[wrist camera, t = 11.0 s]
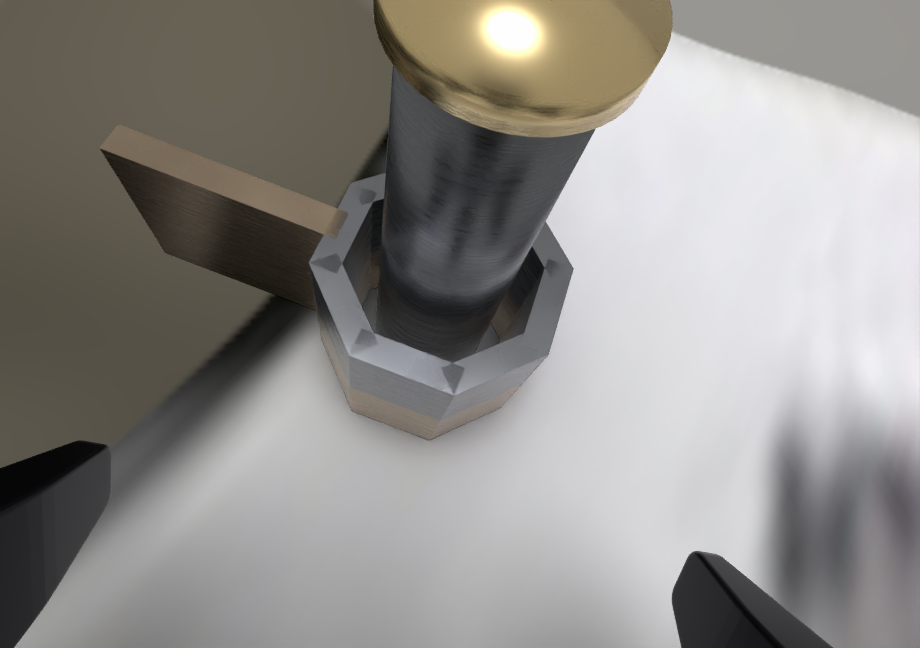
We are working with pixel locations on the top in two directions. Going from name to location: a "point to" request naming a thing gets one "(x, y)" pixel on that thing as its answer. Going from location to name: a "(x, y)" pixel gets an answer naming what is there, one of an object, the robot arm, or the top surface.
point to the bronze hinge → (338, 279)
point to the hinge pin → (490, 143)
